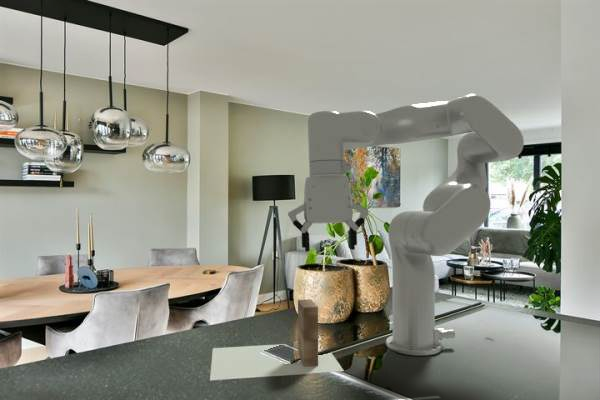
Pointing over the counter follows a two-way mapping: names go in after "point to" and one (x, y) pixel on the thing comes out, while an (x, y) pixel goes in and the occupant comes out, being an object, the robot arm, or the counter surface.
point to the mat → (262, 364)
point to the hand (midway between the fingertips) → (329, 249)
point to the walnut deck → (308, 332)
